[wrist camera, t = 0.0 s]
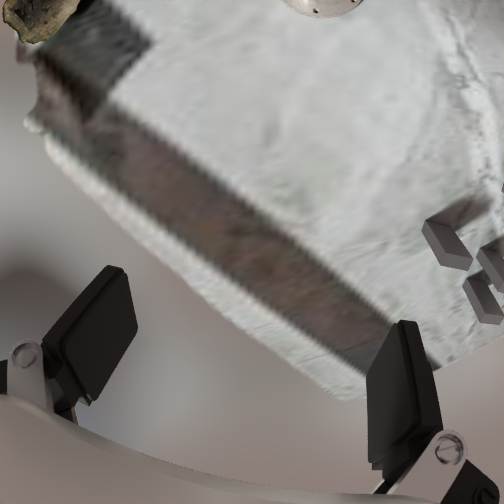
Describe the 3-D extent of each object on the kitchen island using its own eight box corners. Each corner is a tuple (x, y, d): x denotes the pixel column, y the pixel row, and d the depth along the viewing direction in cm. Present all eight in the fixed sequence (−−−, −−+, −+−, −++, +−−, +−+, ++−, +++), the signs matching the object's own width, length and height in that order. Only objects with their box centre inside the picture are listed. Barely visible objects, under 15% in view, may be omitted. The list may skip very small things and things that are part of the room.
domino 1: (425, 220, 43) (445, 252, 35) (450, 226, 43) (473, 259, 34) (421, 231, 44) (440, 265, 36) (446, 236, 44) (468, 270, 35)
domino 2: (480, 247, 43) (503, 281, 35) (498, 252, 43) (522, 285, 34) (476, 257, 44) (497, 291, 36) (494, 261, 44) (517, 295, 35)
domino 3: (466, 278, 47) (485, 313, 38) (485, 281, 46) (504, 316, 38) (462, 286, 48) (479, 322, 39) (480, 289, 47) (499, 324, 39)
